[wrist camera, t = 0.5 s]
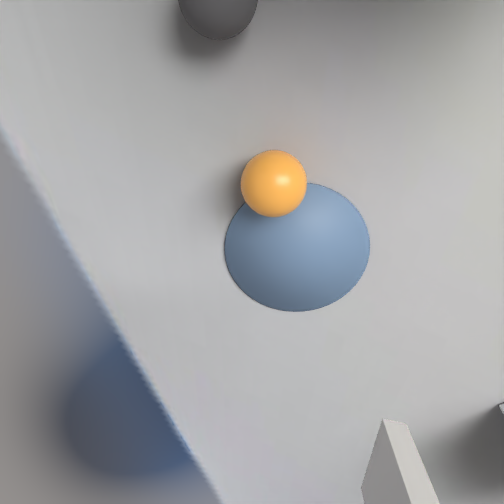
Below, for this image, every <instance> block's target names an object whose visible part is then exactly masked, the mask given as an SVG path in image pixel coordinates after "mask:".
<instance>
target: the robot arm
mask: <svg viewBox="0 0 504 504" xmlns="http://www.w3.org/2000/svg"><path fill="white" fill-rule="evenodd" d="M361 489H362V494H363V499H364V504H440V503H439V501H438V498H437V496H436V493H435V491H434V489H433V486H432V484H431V481H430V479H429V477H428V474H427V472H426V470H425V467H424V465H423V462H422V460H421V458H420V455H419V453H418V450H417V448H416V446H415V443H414V441H413V439H412V436H411V434H410V431H409V429H408V427H407V424H406V423H401V422H396V421H392V420H387V419H383V418H382V421H381V425H380V428H379V431H378V434H377V438H376V441H375V444H374V447H373V451H372V454H371V457H370V460H369V464H368V467H367V470H366V473H365V477H364V480H363V483H362V486H361Z"/></svg>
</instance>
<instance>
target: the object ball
mask: <svg viewBox="0 0 504 504" xmlns="http://www.w3.org/2000/svg"><path fill="white" fill-rule="evenodd" d="M306 189H307V178H306V174H305V171H304V169H303V167H302V165H301V164H300V162H299V161H298V160H297V159H296V158H295V157H293V156H292V155H290V154H288V153H286V152H283V151H279V150H270V151H265V152H262V153H260V154H258V155H256V156H255V157H253V158H252V159H251V160H250V161H249V162H248V164H247V165H246V167H245V169H244V171H243V173H242V177H241V191H242V195H243V197H244V200H245V201H246V203H247V204H248V206H249V207H250V208H251V209H252V210H254V211H255V212H257V213H258V214H260V215H263V216H266V217H281V216H284V215H287V214H289V213H290V212H292V211H293V210H295V209H296V208H297V207H298V206H299V205H300V203H301V202H302V200H303V198H304V196H305V193H306Z"/></svg>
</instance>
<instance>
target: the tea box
mask: <svg viewBox="0 0 504 504" xmlns="http://www.w3.org/2000/svg"><path fill="white" fill-rule="evenodd" d="M499 407H500V409H501V411H502V413H503V414H504V403H502V404H500V405H499Z"/></svg>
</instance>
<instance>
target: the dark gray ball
mask: <svg viewBox="0 0 504 504" xmlns="http://www.w3.org/2000/svg"><path fill="white" fill-rule="evenodd" d="M178 1H179V5H180V8H181V11H182V13H183V15H184V17H185V19H186V20H187V22H188V23H189V24H190V26H191V27H192V28H193V29H194V30H195V31H197V32H198V33H200V34H201V35H203V36H205V37H208V38H211V39H218V40H221V39H228V38H231V37H234V36H235V35H237V34H239V33H240V32H241V31H243V30H244V29H245V28H246V27H247V25H248V24H249V23H250V21H251V19H252V18H253V16H254V13H255V10H256V7H257V1H258V0H178Z"/></svg>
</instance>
